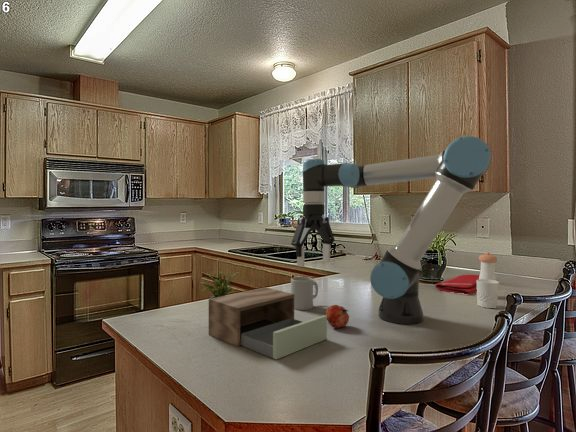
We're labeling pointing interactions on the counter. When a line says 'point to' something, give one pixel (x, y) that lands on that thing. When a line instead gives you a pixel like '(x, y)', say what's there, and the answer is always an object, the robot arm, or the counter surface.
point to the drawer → (285, 336)
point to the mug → (303, 292)
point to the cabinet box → (247, 311)
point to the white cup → (487, 293)
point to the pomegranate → (337, 316)
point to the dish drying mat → (460, 284)
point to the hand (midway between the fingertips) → (314, 264)
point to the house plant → (219, 285)
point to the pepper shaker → (487, 266)
